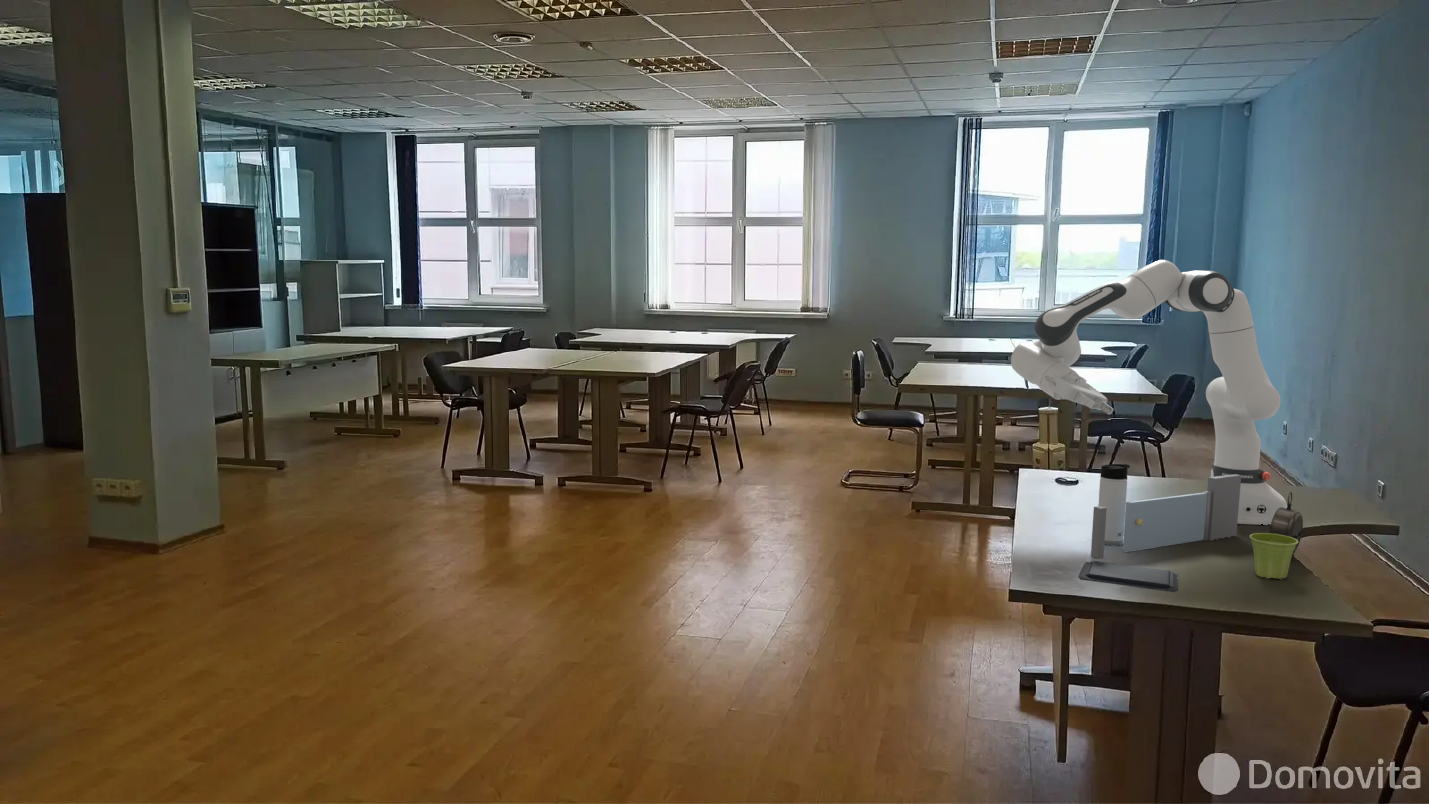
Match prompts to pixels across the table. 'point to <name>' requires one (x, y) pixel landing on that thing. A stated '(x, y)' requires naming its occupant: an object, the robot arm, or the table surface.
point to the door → (1166, 521)
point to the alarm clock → (1287, 523)
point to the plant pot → (1272, 554)
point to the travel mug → (1114, 500)
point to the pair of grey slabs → (1220, 515)
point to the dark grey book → (1130, 576)
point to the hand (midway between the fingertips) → (1102, 408)
